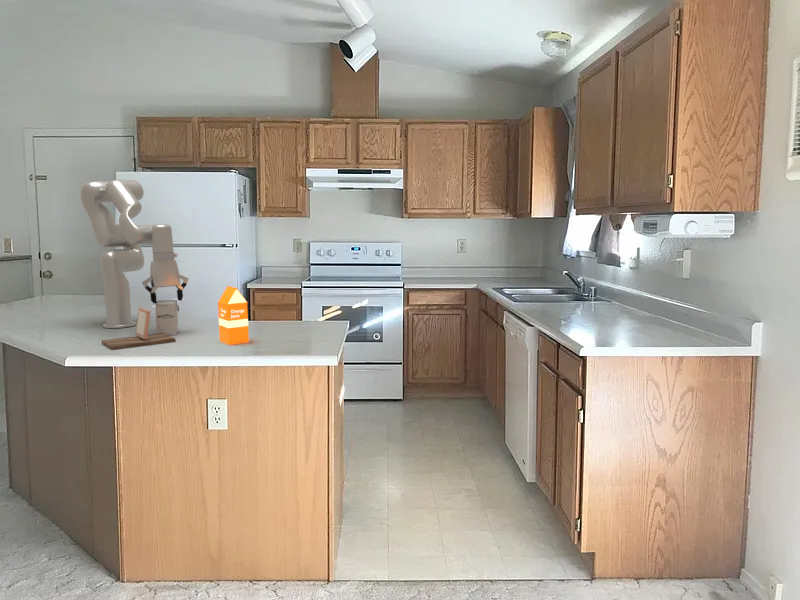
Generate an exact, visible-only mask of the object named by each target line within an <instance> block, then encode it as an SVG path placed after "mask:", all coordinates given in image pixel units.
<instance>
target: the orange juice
mask: <svg viewBox="0 0 800 600" xmlns="http://www.w3.org/2000/svg"><path fill="white" fill-rule="evenodd" d="M217 305H218V310H217V311H218V327H219V328H218V329H219V341H220V342H221V343H224V344H227V345H228V346H229V345H230V346H231V345H237V344H245V343H249V342H250V341H249V339H250V337H249V319H248V318H249V316H248V315H249V314H248V301H247V300H246V299H245V297H244V296H243V295H242V293H241V292H240V291H239V290H238V288H237V287H234V286H230V285H227V287H226V288H225V290H224V291H223V293H222V295H221V296H220V298H219V299H218V302H217Z"/></svg>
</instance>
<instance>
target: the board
mask: <svg viewBox="0 0 800 600" xmlns="http://www.w3.org/2000/svg"><path fill="white" fill-rule="evenodd" d="M100 342H101V344H102V346H104V347H106V348H108V349H110V350H111V351H115V350H120V349H121V350H123V349H129V348H137V347H145V346H154V345H160V344H170V343H176V338H175V337H173V336H172V335H166V334H164V333H159V334H157V333H152V334H148V337H147V339H144V338H142V337H140V336H138V335H134V336H127V337H118V338H117V337H116V338H108V339H102V340H101V341H100Z"/></svg>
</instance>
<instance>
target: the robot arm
mask: <svg viewBox="0 0 800 600" xmlns="http://www.w3.org/2000/svg"><path fill="white" fill-rule="evenodd" d="M144 193H145V191H144V188H143V186H142V184H141V183H140V182H139V181H138V180H134V179H113V180H108V181H104V180H94V181H93V180H92V181H88V182H85V183H84V184H83V185H82V187H81V189H80V201H81V203H82V207H83V208H84V210H85V211H86V214H87V215H88V218H89V220H90V224H91V226H92V229H93V233H94V236H95V238H96V242H97V244H98V245H99V247H101V248H104V249H108V250H105V251H103V252H101V254H100V256H99V265H100V269H101V273H102V279H103V289H104V301H105V302H104V304H105V316H106V317H105V318H106V319H105V320H106V322H105V323H103V324H102V327H103V328H104V329H105V328H106V329H123V328H130V327H134V326H137V322H136V321H134V320H132V309H131V307H132V306H131V294H130V293H131V292H130V282H129V280H128V278H127V277H126V275H125V273H128V272H130V273H131V272H137V271H140V270H141V269H143V268H144V265H145V256H144V252H143V249H142V247H141V246H143V245H151V248H152V258H153V259H152V261H150V268H149V269H150V272H149V274H150V276H149V277H148V278H146V279H145V280H143V281H141V284H142V285H143V287H144V289H145V290H146V291H148V292H149V293H150V295H149V296H150V301H151V302H152V304H155V303H157V301H158V300H157V293H156V290H157V289H158V288H168V287H175V288H176V297H177V301H179V302H180V301H183V298H184V295H183V294H184V293H183V292H184V291H183V290H184V288H186V286H187V284H188V282H189V277H186V276H184V275H181V274H180V270H179V266H178V264H177V260H176V259H175V258H178V253H175V251H174V243H173V242H174V241H173V230H172V226H171V225H170V224H134V222H133V221H132V219H134V218H135V217H137V216H138V215H139V214H140V213H141V212H142V208H143V207H142V203H141V202H140V201H141V200H142V198H143V197H144ZM103 203H112V204H113V205H114V207H115V208H116V209H117V211H118V212H119V213H120V214H119V219H118V224H117V223H116V222H115V220H114V218H113V215H112V212H111V210H109V208H108V207H106V206H105V205H104V204H103ZM181 280H182V283H181ZM148 283H150V285H151V286H149V284H148Z"/></svg>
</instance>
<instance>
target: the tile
mask: <svg viewBox="0 0 800 600" xmlns="http://www.w3.org/2000/svg"><path fill="white" fill-rule="evenodd" d="M151 312H152V311H151V310H148V309H146V308H143V307H138V313H137V322H136V327H135V328H136V330H135V336H140V337H142V338H144V339H147V337H148V335H149V328H150V321H151V320H150V318H151Z"/></svg>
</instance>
